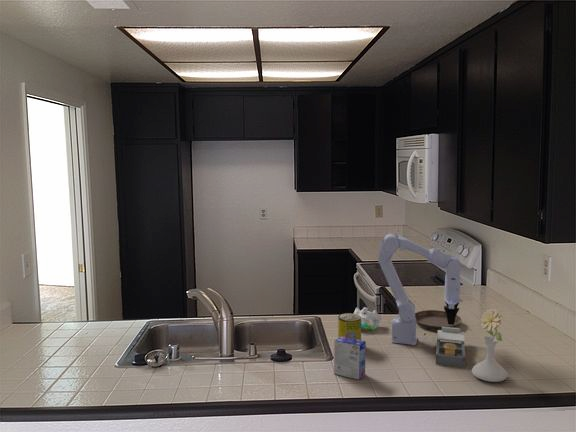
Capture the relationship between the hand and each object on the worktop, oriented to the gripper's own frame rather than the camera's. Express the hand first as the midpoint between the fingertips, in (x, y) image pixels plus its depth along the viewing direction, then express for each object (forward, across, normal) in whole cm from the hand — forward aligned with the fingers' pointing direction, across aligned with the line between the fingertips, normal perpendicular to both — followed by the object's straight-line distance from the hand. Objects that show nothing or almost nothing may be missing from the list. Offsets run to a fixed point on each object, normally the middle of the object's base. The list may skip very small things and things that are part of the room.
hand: (451, 321), depth 203 cm
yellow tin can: (+10, -14, +38) cm, 41 cm away
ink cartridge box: (+10, -39, +32) cm, 52 cm away
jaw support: (+10, +8, +36) cm, 38 cm away
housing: (+9, -12, 0) cm, 16 cm away
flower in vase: (+10, -28, -14) cm, 33 cm away
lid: (+6, -2, 0) cm, 6 cm away
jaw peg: (+9, -17, 0) cm, 20 cm away
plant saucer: (+10, +22, +6) cm, 25 cm away
